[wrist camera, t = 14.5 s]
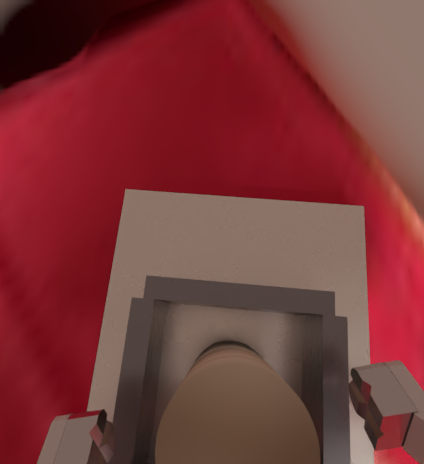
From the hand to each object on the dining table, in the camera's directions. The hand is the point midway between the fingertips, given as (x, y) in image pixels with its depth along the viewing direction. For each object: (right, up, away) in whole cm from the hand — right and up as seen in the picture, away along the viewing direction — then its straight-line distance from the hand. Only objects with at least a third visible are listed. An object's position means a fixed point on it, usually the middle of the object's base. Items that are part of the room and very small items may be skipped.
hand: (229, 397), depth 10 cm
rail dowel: (0, -2, +6) cm, 6 cm away
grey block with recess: (0, -3, +7) cm, 7 cm away
